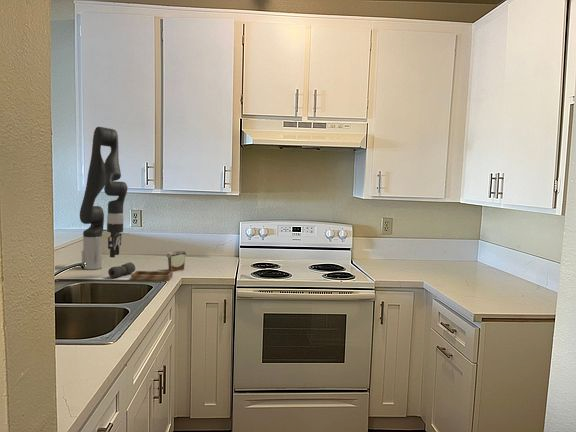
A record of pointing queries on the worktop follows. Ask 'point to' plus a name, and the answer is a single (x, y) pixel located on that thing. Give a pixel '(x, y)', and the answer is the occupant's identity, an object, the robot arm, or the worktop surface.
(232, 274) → the worktop surface
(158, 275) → the open wooden frame
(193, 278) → the worktop surface
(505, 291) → the worktop surface
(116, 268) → the flashlight
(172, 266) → the food container
